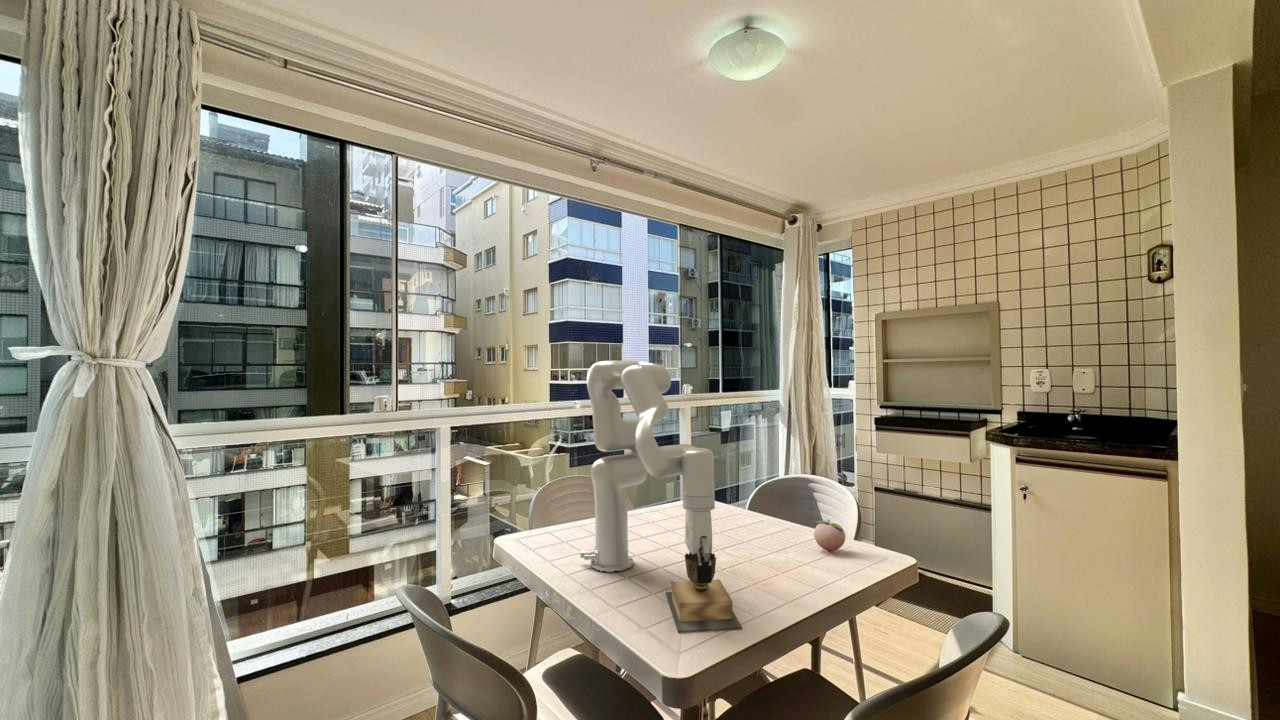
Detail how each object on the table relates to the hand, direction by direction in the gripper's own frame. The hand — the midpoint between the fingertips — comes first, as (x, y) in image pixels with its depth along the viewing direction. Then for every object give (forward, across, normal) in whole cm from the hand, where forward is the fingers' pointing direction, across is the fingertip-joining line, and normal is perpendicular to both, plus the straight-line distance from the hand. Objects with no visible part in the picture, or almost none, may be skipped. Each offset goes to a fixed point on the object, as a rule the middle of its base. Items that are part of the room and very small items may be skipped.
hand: (700, 574), depth 121 cm
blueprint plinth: (+8, 0, 0) cm, 8 cm away
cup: (+4, -1, 0) cm, 4 cm away
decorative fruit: (+8, -34, +47) cm, 59 cm away
